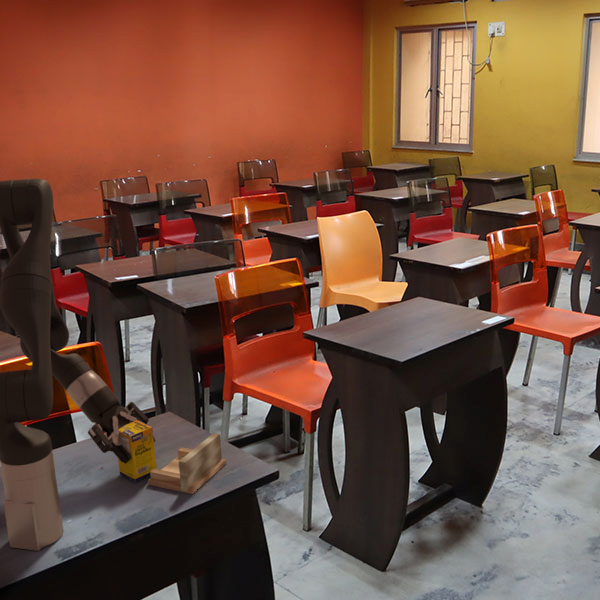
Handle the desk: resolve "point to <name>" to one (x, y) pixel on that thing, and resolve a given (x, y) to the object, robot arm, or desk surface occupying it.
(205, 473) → the backstop pocket
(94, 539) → the desk surface
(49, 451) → the robot arm
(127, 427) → the supplement box
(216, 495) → the desk surface
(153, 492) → the desk surface
